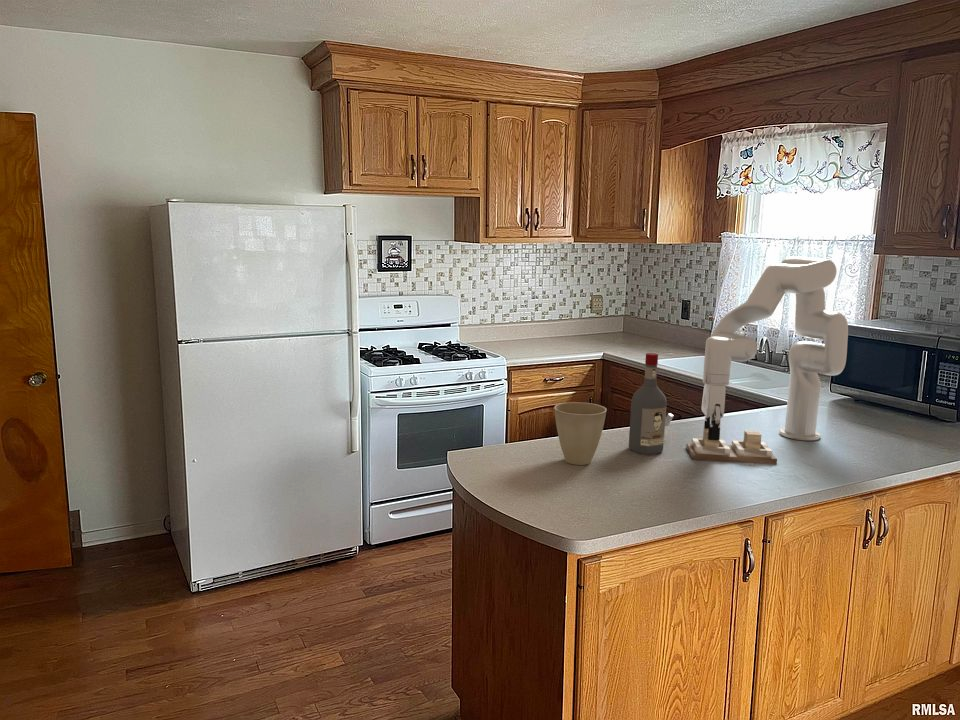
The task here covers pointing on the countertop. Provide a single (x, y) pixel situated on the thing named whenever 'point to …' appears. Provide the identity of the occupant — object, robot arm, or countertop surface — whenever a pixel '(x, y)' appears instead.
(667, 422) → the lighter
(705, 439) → the tan wooden block
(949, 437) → the countertop surface
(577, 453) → the plant pot
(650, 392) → the liquor
